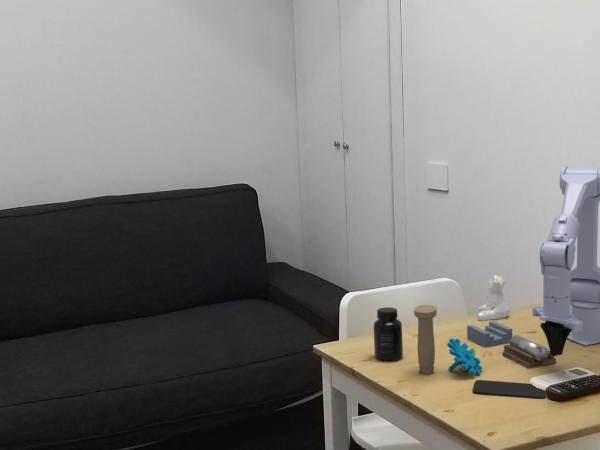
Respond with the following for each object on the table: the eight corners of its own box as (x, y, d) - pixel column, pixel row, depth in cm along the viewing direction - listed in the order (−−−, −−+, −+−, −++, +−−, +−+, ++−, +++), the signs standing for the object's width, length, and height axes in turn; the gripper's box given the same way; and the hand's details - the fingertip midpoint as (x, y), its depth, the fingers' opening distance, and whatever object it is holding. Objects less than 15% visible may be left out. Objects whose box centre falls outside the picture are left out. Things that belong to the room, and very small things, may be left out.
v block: (493, 333, 210) (493, 320, 209) (512, 342, 202) (512, 328, 202) (467, 338, 207) (467, 325, 206) (485, 347, 200) (484, 333, 199)
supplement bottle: (408, 356, 196) (407, 308, 194) (391, 364, 191) (390, 315, 189) (385, 351, 201) (384, 304, 199) (368, 358, 196) (367, 310, 194)
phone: (545, 397, 166) (471, 391, 171) (545, 401, 166) (471, 395, 171) (546, 384, 173) (475, 379, 178) (546, 388, 173) (475, 382, 178)
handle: (413, 376, 183) (411, 312, 180) (418, 366, 189) (417, 304, 186) (434, 377, 181) (433, 313, 179) (439, 367, 187) (438, 305, 185)
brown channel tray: (529, 350, 196) (529, 340, 195) (555, 362, 187) (555, 352, 186) (502, 355, 193) (502, 345, 193) (528, 368, 184) (528, 357, 184)
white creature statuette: (479, 311, 231) (478, 270, 228) (510, 312, 228) (510, 270, 226) (477, 321, 222) (476, 278, 220) (509, 322, 219) (509, 279, 217)
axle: (509, 350, 194) (509, 336, 193) (521, 348, 195) (521, 334, 194) (535, 362, 184) (535, 348, 184) (548, 360, 186) (548, 345, 185)
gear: (474, 375, 177) (445, 339, 180) (455, 391, 179) (427, 355, 183) (491, 366, 186) (464, 332, 189) (473, 381, 188) (446, 347, 192)
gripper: (521, 290, 183) (521, 348, 185) (563, 305, 170) (563, 367, 172) (547, 286, 185) (546, 343, 188) (591, 300, 172) (590, 361, 174)
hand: (556, 354), depth 180 cm, fingers closed
